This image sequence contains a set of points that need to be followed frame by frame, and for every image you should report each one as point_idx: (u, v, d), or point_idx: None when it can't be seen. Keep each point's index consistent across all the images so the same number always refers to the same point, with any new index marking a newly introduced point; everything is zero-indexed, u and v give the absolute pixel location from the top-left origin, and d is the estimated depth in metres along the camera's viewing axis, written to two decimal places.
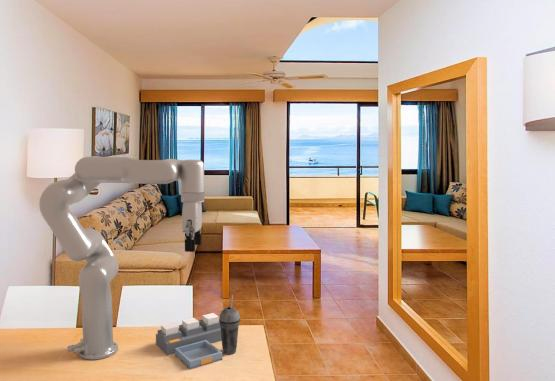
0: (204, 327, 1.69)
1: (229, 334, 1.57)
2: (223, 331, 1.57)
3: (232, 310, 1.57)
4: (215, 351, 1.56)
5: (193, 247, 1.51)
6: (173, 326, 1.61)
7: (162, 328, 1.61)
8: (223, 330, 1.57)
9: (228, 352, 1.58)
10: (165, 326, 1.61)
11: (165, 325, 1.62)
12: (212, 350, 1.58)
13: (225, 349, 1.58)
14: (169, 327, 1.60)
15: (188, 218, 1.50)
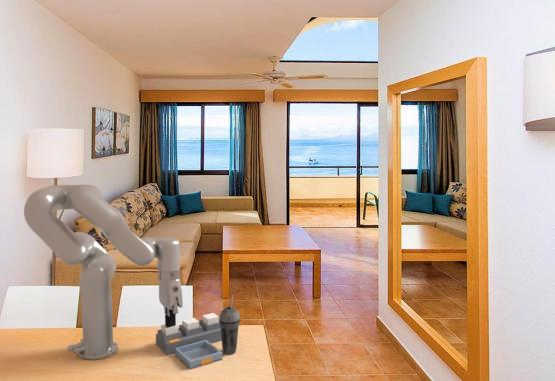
0: (204, 327, 1.69)
1: (229, 334, 1.57)
2: (223, 331, 1.57)
3: (232, 310, 1.57)
4: (215, 351, 1.56)
5: None
6: (173, 326, 1.61)
7: (162, 328, 1.61)
8: (223, 330, 1.57)
9: (228, 352, 1.58)
10: (165, 327, 1.61)
11: None
12: (212, 350, 1.58)
13: (225, 349, 1.58)
14: (169, 327, 1.60)
15: None
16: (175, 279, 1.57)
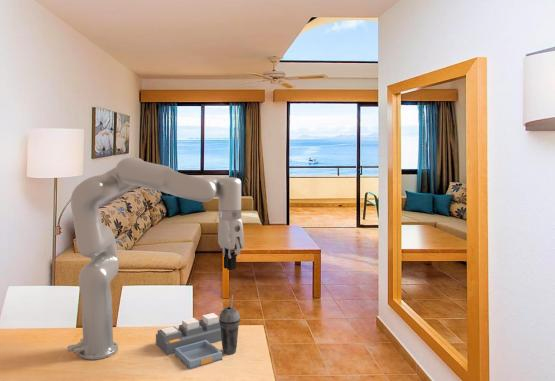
0: (204, 327, 1.69)
1: (229, 334, 1.57)
2: (223, 331, 1.57)
3: (232, 310, 1.57)
4: (215, 351, 1.56)
5: None
6: (173, 330, 1.61)
7: (162, 332, 1.61)
8: (223, 330, 1.57)
9: (228, 352, 1.58)
10: (165, 331, 1.61)
11: (165, 329, 1.62)
12: (212, 350, 1.58)
13: (225, 349, 1.58)
14: (169, 331, 1.61)
15: None
16: (237, 219, 1.53)
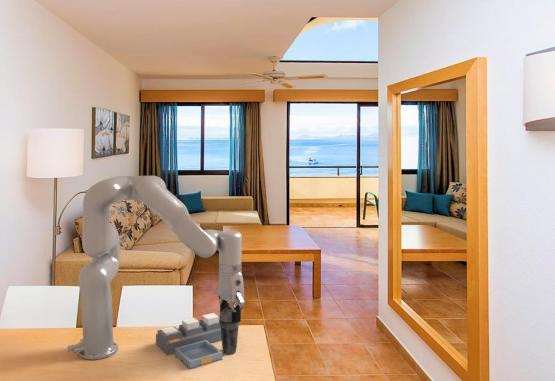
0: (204, 327, 1.69)
1: (229, 333, 1.57)
2: (223, 331, 1.57)
3: (232, 310, 1.57)
4: (215, 351, 1.56)
5: None
6: (173, 330, 1.61)
7: (162, 332, 1.61)
8: (223, 330, 1.57)
9: (228, 352, 1.58)
10: (165, 331, 1.61)
11: (165, 329, 1.62)
12: (212, 350, 1.58)
13: (225, 349, 1.58)
14: (169, 331, 1.61)
15: None
16: (237, 273, 1.55)
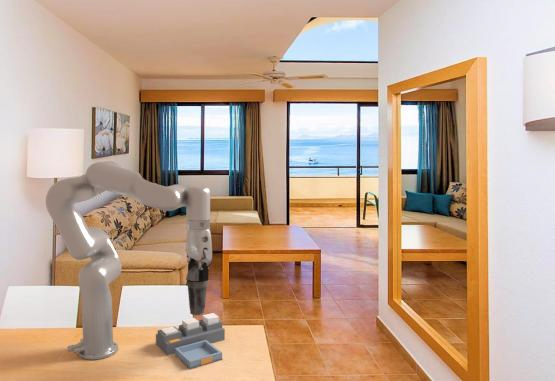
0: (204, 327, 1.69)
1: (196, 293, 1.50)
2: (190, 290, 1.51)
3: None
4: (215, 351, 1.56)
5: None
6: (173, 330, 1.61)
7: (162, 332, 1.61)
8: (190, 289, 1.50)
9: (195, 312, 1.51)
10: (165, 331, 1.61)
11: (165, 329, 1.62)
12: (212, 350, 1.58)
13: (192, 310, 1.52)
14: (169, 331, 1.61)
15: None
16: (205, 229, 1.48)
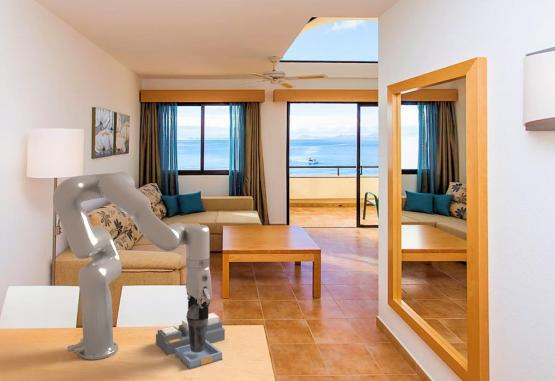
0: None
1: (196, 331, 1.51)
2: (190, 328, 1.52)
3: None
4: (215, 351, 1.56)
5: None
6: (173, 330, 1.61)
7: (162, 332, 1.61)
8: (190, 327, 1.52)
9: (196, 350, 1.53)
10: (165, 331, 1.61)
11: (165, 329, 1.62)
12: (212, 350, 1.58)
13: (192, 347, 1.53)
14: (169, 331, 1.61)
15: None
16: (204, 268, 1.50)
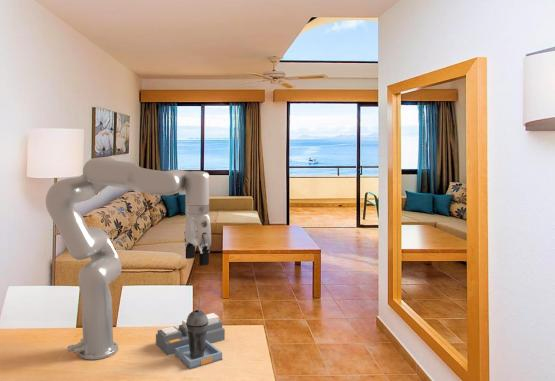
0: None
1: (196, 337, 1.52)
2: (190, 335, 1.52)
3: (199, 313, 1.53)
4: (215, 351, 1.56)
5: None
6: (173, 330, 1.61)
7: (162, 332, 1.61)
8: (190, 334, 1.52)
9: (195, 356, 1.53)
10: (165, 331, 1.61)
11: (165, 329, 1.62)
12: (212, 350, 1.58)
13: (192, 354, 1.53)
14: (169, 331, 1.61)
15: None
16: (204, 214, 1.48)
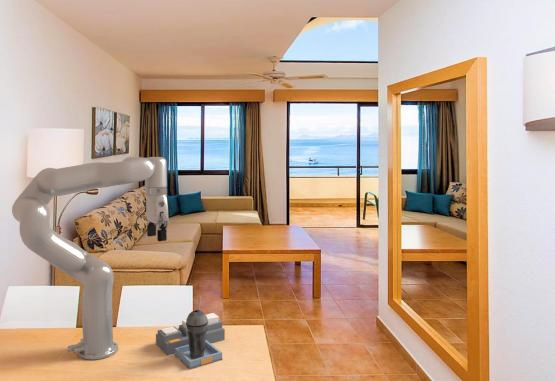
0: None
1: (196, 337, 1.52)
2: (190, 335, 1.52)
3: (199, 313, 1.53)
4: (215, 351, 1.56)
5: None
6: (173, 330, 1.61)
7: (162, 332, 1.61)
8: (190, 334, 1.52)
9: (195, 356, 1.53)
10: (165, 331, 1.61)
11: (165, 329, 1.62)
12: (212, 350, 1.58)
13: (192, 354, 1.53)
14: (169, 331, 1.61)
15: None
16: (161, 195, 1.65)
